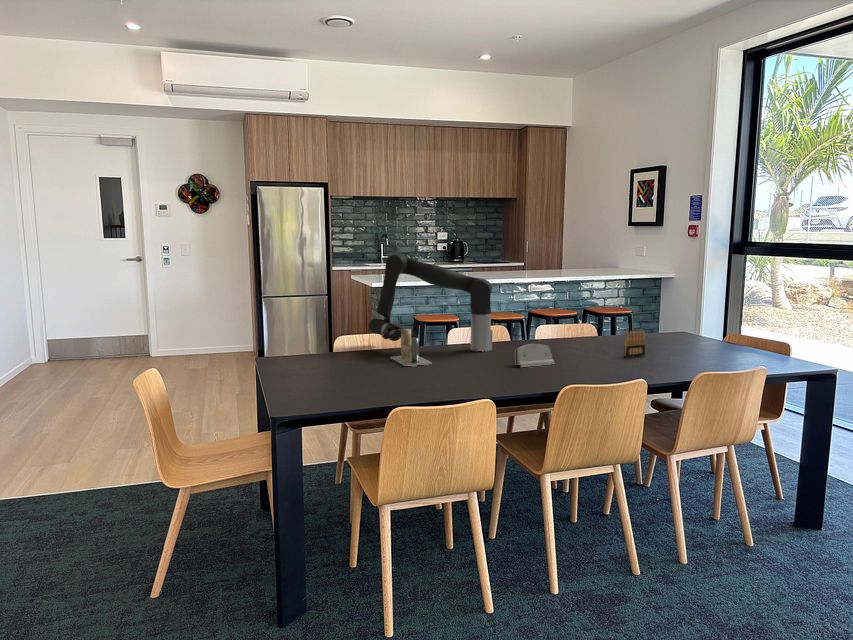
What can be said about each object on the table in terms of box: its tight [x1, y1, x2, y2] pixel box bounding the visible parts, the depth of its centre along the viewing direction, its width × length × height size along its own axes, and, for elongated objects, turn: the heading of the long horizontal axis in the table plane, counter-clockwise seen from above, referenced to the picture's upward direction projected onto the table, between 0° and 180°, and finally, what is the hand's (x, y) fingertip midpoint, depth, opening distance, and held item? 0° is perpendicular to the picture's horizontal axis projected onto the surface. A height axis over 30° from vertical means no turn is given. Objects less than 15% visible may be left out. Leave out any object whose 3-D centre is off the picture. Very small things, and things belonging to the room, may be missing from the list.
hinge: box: [514, 343, 556, 368], centre depth 260 cm, size 17×5×10 cm, turn 111°
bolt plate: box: [390, 337, 433, 367], centre depth 265 cm, size 12×18×11 cm, turn 23°
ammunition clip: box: [623, 328, 646, 358], centre depth 278 cm, size 11×2×12 cm, turn 113°
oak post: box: [400, 328, 412, 358], centre depth 270 cm, size 4×4×12 cm
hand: (404, 337), depth 271 cm, fingers open, 8 cm apart
